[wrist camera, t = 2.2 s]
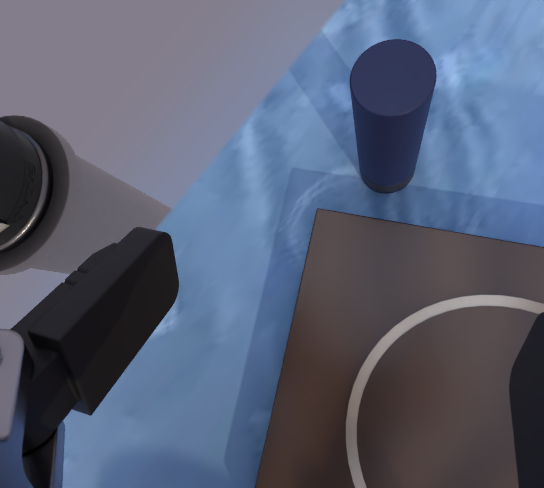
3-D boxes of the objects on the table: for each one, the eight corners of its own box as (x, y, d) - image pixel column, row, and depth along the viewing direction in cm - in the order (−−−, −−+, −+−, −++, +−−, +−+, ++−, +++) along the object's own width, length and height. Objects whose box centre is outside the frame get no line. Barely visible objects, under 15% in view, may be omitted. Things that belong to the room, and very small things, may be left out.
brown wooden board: (250, 522, 22) (244, 532, 21) (319, 212, 24) (316, 207, 23) (683, 686, 17) (704, 710, 16) (726, 283, 19) (747, 281, 18)
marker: (355, 188, 24) (341, 111, 15) (365, 139, 24) (358, 35, 15) (409, 197, 23) (427, 120, 14) (419, 146, 23) (443, 41, 15)
